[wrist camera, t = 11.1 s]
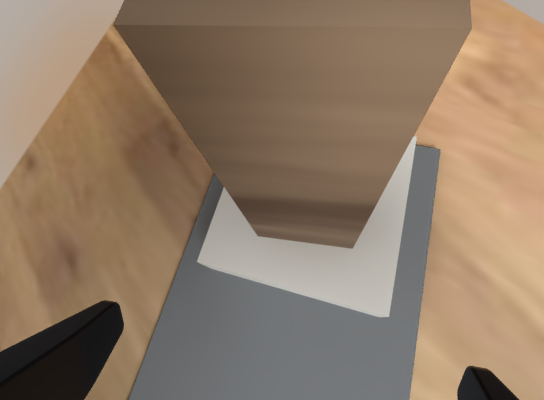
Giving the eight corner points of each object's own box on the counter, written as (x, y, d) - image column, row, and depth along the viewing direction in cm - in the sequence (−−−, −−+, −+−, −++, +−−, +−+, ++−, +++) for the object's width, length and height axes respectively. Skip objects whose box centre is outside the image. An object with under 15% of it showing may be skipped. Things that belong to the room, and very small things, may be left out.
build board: (389, 537, 14) (406, 586, 11) (123, 421, 17) (89, 440, 14) (438, 152, 20) (456, 127, 18) (237, 118, 23) (228, 92, 21)
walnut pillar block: (352, 248, 16) (471, 27, 4) (257, 236, 17) (113, 24, 5) (359, 162, 18) (456, -182, 6) (272, 154, 18) (193, -155, 6)
